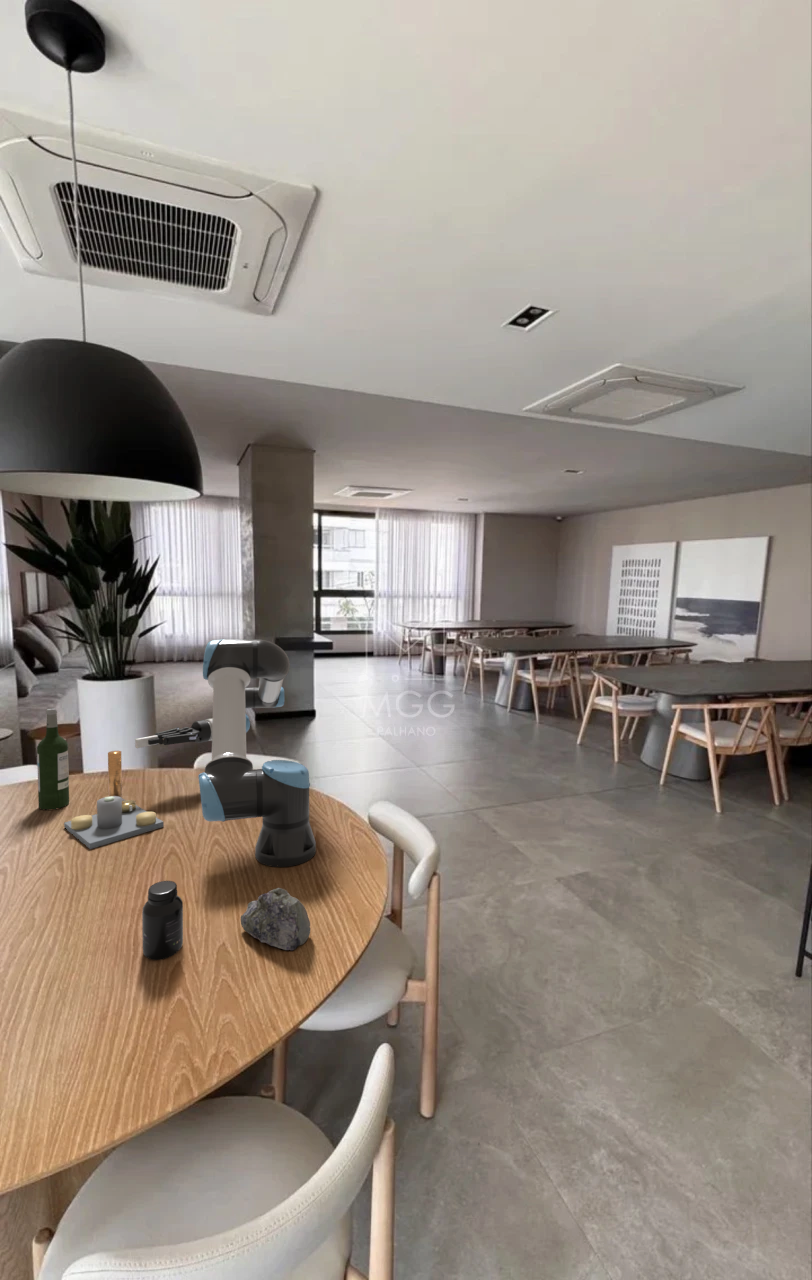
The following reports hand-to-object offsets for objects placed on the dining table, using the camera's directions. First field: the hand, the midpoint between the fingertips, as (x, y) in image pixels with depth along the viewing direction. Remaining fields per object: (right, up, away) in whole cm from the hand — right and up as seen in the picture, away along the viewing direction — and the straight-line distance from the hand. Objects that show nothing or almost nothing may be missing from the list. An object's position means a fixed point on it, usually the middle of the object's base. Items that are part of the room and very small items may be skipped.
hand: (136, 743), depth 170 cm
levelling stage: (+3, -20, -18) cm, 27 cm away
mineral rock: (+59, -25, -65) cm, 91 cm away
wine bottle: (-24, -19, -3) cm, 30 cm away
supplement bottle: (+40, -25, -70) cm, 84 cm away
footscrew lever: (-1, -17, -7) cm, 19 cm away
